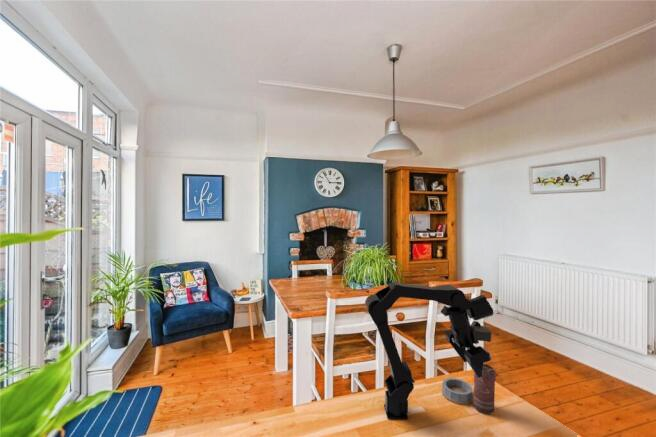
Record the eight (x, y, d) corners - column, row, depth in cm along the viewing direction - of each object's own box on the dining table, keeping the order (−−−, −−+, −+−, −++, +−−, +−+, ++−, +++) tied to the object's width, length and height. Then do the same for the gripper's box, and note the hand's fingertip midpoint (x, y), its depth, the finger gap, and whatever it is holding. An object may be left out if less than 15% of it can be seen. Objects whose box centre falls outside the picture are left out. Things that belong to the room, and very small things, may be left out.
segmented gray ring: (448, 404, 101) (448, 394, 101) (437, 386, 111) (438, 377, 111) (478, 404, 101) (478, 394, 101) (464, 386, 111) (464, 377, 111)
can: (497, 416, 96) (498, 373, 95) (476, 413, 97) (477, 371, 96) (491, 404, 102) (492, 364, 101) (471, 401, 103) (472, 362, 102)
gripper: (501, 328, 87) (514, 378, 88) (469, 307, 106) (480, 348, 107) (465, 339, 87) (478, 389, 88) (439, 316, 106) (451, 357, 107)
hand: (472, 369), depth 97 cm, fingers open, 9 cm apart
